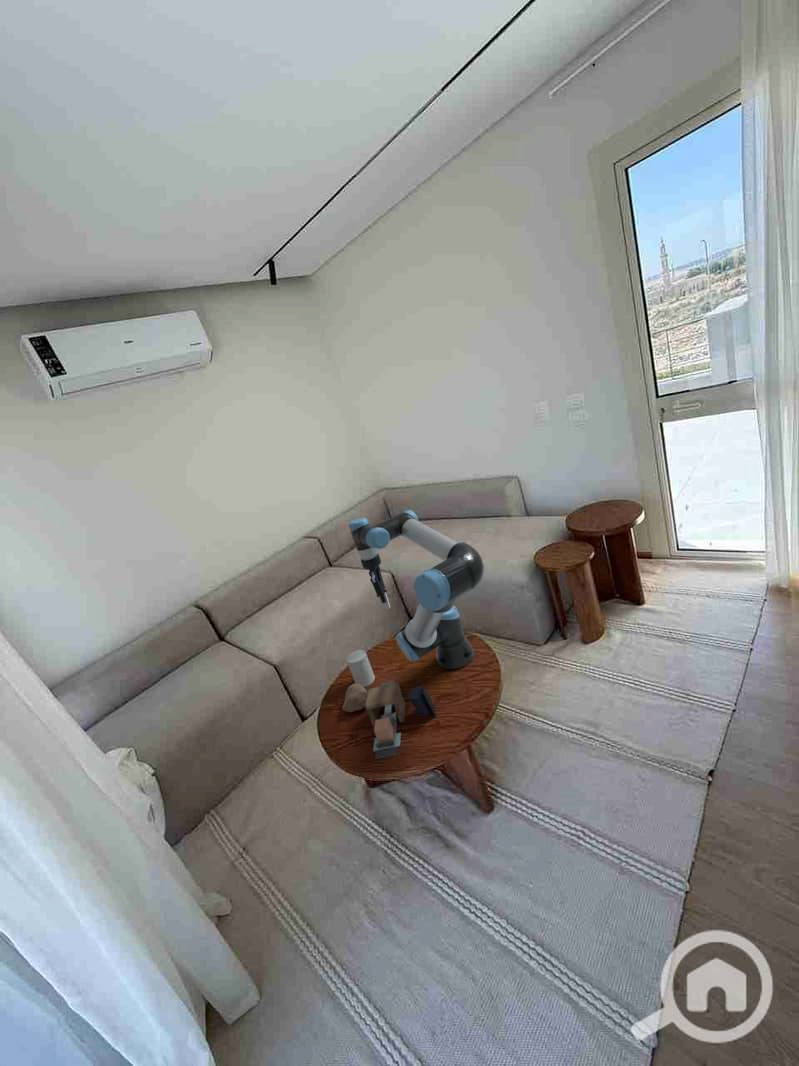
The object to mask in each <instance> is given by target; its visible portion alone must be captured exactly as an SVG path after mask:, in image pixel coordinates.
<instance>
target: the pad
mask: <svg viewBox="0 0 799 1066" xmlns="http://www.w3.org/2000/svg"><path fill="white" fill-rule="evenodd" d="M401 736H402V733H401V732H396V739H395V745H391V746H386V747H381V748H377V746H376V742H377V737H374V741H373V748H372V750H373V751H372V752H376V751H380V750H385V749H390V748H395V747H397V748H398V747H401Z"/></svg>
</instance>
